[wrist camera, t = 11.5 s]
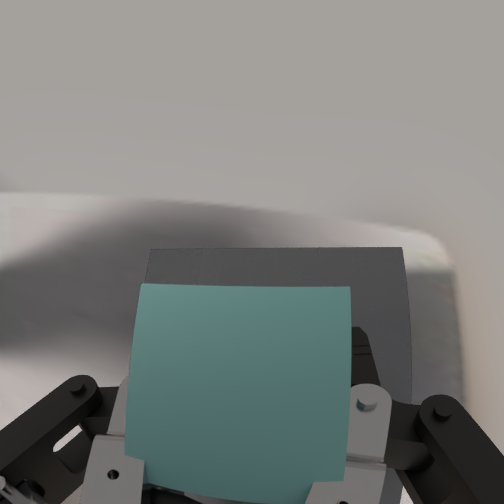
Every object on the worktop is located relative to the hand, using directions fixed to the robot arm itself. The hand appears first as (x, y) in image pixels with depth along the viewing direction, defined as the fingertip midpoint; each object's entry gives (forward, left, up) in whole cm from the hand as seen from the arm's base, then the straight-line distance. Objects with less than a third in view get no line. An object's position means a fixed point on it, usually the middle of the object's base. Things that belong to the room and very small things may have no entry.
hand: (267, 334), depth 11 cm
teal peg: (0, -2, -4) cm, 5 cm away
